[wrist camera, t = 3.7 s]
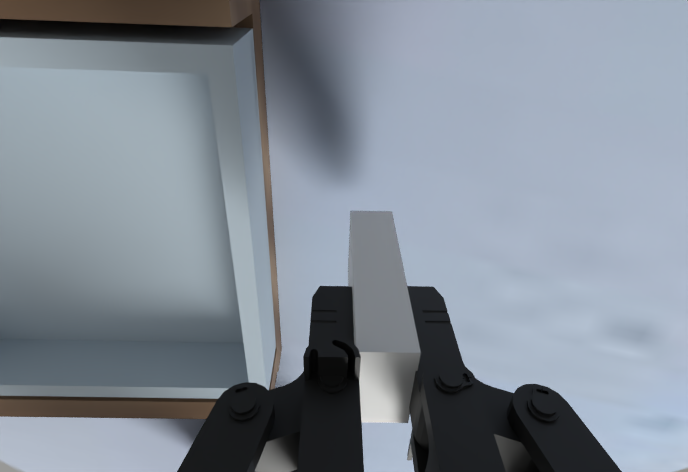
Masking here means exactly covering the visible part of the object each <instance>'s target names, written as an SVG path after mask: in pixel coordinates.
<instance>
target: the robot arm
mask: <svg viewBox="0 0 688 472" xmlns="http://www.w3.org/2000/svg"><path fill="white" fill-rule="evenodd" d="M303 358H304V372H303V373H302V374H301V375H300V376H299V377H298V378H297V379H296V380H295V381H293V382H292V383H290V384H287V385H285V386H282V387H278V388H275V389H271V390H267V389H266V388H265V387H264V386H262V385H260V384H257V383H249V382H244V383H240V384H237V385H234V386H232V387H230V388H229V389H227V390H226V391H224V392H223V393H222V395H221V396H220V397H219V398H218V400H217V401H216V403H215V405H214V406H213V408H212V410H211V412H210V414H209V415H208V417H207V419H206V421H205V423H204V424H203V426H202V428H201V430H200V432H199V433H198V435H197V437H196V439H195V441H194V442H193V444H192V446H191V448H190V450H189V451H188V453H187V455H186V457H185V459H184V460H183V462H182V464H181V466H180V468H179V469H178V471H177V472H291V471H294V470H296V469H297V472H364V465H363V445H362V425H361V422H370V423H408V420H409V415H411V422H412V433H411V439H410V444H409V449H408V458H407V460H412V457H413V464H414V471H415V472H621V470H620V469H619V468H618V466H617V465H616V464H615V463H614V461H613V460H612V459H611V457H610V456H609V455H608V454H607V452H606V451H605V450H604V448H603V447H602V446H601V445H600V443H599V442H598V441H597V440H596V438H595V437H594V436H593V434H592V433H591V432H590V431H589V429H588V428H587V427H586V425H585V424H584V423H583V422H582V420H581V419H580V418H579V416H578V415H577V414H576V413H575V411H574V410H573V409H572V407H571V406H570V405H569V404H568V402H567V401H566V400H565V399H564V398H563V397H562V396H560V395H559V394H558V393H557V392H555V391H553V390H551V389H550V388H548V387H545V386H541V385H538V384H525V385H523V386H521V387H519V388H517V390H516V391H515V393H511V392H508V391H504V390H501V389H497V388H494V387H491V386H488V385H486V384H484V383H482V382H480V381H479V380H477V379H476V378H475V377H474V375H473V373H472V372H471V371H469V370H468V369H467V368H466V367H465V365H464V363H463V361H462V358H461V354H460V351H459V348H458V344H457V341H456V338H455V335H454V331H453V328H452V325H451V324H450V318H449V315H448V313H447V308H446V305H445V302H444V298H443V297H442V296H441V295H440V294H439V292H438V291H437V290H436V289H435V288H434V287H417V286H407V283H406V278H405V273H404V268H403V263H402V258H401V253H400V249H399V244H398V239H397V234H396V229H395V224H394V219H393V214H392V212H389V211H350V234H349V258H348V286H320V287H319V288H318V290H317V291H316V293H315V294H314V296H313V297H312V310H311V323H310V335H309V346H308V347H307V348H306V351H305V354H304V357H303Z"/></svg>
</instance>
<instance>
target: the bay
mask: <svg viewBox="0 0 688 472" xmlns="http://www.w3.org/2000/svg"><path fill="white" fill-rule="evenodd" d="M0 19H18V20H45V21H71V22H98V23H125V24H152V25H178V26H205V27H232V28H253V38H254V51H255V65H256V79H257V92H258V106H259V120H260V133H261V147H262V161H263V174H264V188H265V202H266V215H267V229H268V243H269V256H270V270H271V284H272V297H273V311H274V325H275V338H276V349H275V355H274V362H273V368H272V374H271V380H270V387H269V390H271V389H275V382H276V376H277V372H278V370H279V363H280V356H281V349H282V348H281V332H280V317H279V301H278V285H277V269H276V254H275V238H274V222H273V206H272V191H271V175H270V159H269V143H268V128H267V112H266V96H265V80H264V65H263V49H262V33H261V17H260V2H259V0H0ZM217 400H218V399H206V398H135V397H64V396H0V416H10V417H88V418H166V419H207V417H208V415H209V414H210V412H211V410H212V408H213V406H214V405H215V403H216V401H217Z"/></svg>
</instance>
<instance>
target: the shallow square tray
mask: <svg viewBox="0 0 688 472" xmlns="http://www.w3.org/2000/svg"><path fill="white" fill-rule="evenodd" d="M275 349H276V338H275V325H274V311H273V297H272V284H271V270H270V256H269V243H268V229H267V215H266V202H265V188H264V174H263V161H262V147H261V133H260V120H259V106H258V92H257V79H256V65H255V51H254V38H253V28H232V27H205V26H178V25H152V24H125V23H98V22H71V21H45V20H18V19H0V396H64V397H135V398H206V399H218V398H219V397H220V396H221V395H222V393H223V392H224V391H226V390H227V389H229V388H230V387H232V386H234V385H237V384H240V383H244V382H249V383H257V384H260V385H262V386H264V387H265V388H266V389H267V390H269V387H270V380H271V374H272V368H273V362H274V355H275Z"/></svg>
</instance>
